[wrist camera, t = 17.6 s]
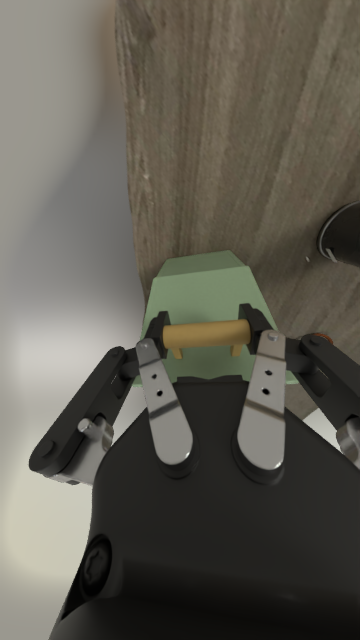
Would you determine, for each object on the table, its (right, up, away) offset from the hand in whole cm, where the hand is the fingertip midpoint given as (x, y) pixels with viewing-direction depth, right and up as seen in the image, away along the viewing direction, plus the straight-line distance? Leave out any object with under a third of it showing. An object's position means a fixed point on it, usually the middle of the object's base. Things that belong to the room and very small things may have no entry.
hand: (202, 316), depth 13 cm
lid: (+1, 0, +4) cm, 4 cm away
